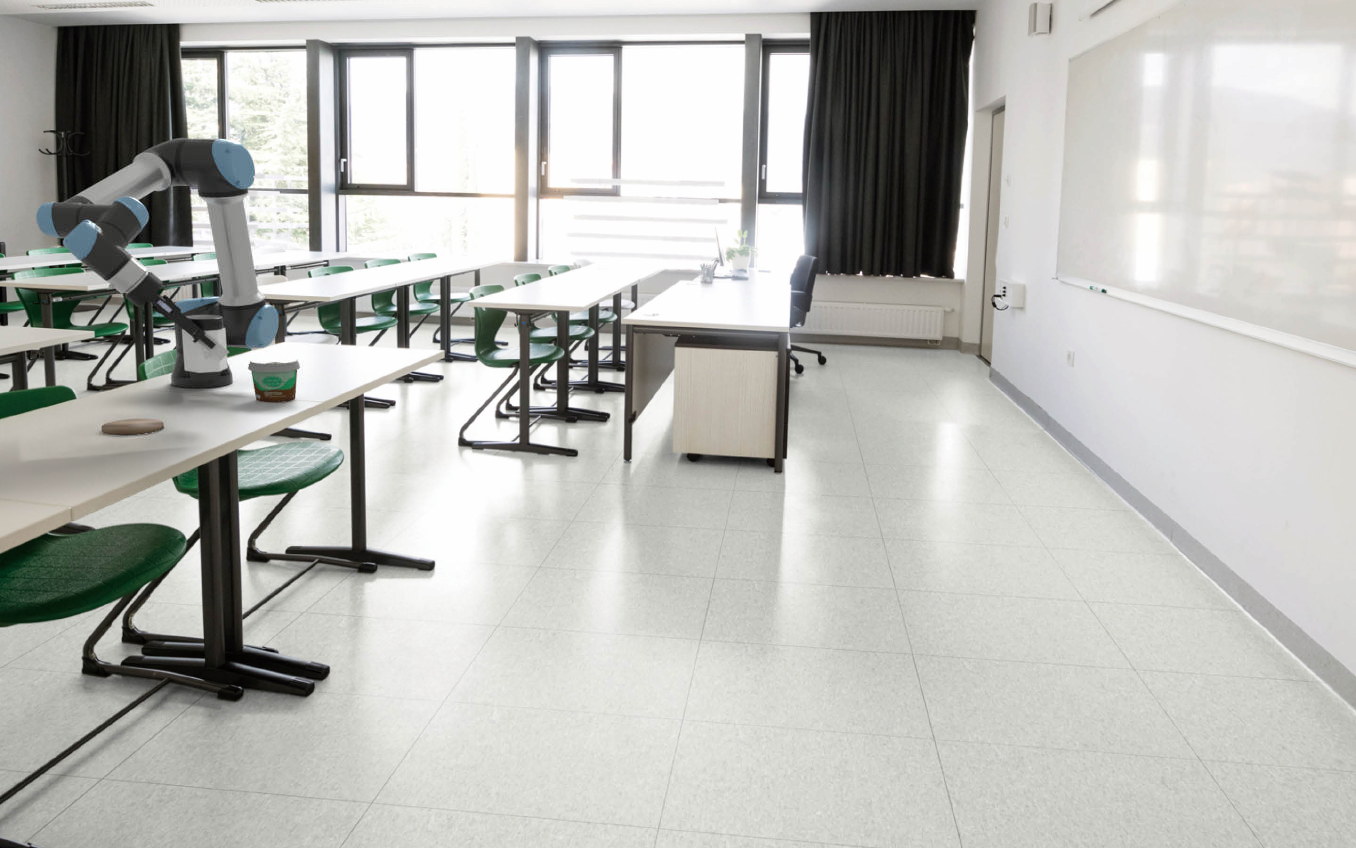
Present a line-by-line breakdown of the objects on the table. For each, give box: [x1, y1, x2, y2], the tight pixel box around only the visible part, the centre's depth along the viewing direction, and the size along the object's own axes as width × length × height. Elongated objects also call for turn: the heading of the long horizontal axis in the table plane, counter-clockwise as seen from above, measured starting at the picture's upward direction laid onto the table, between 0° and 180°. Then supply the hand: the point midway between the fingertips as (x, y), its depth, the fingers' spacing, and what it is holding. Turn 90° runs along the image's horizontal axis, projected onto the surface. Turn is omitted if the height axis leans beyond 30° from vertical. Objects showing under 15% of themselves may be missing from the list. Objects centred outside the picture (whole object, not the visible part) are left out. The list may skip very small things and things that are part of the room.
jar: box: [182, 315, 229, 373], centre depth 228 cm, size 9×8×12 cm
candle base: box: [101, 418, 165, 436], centre depth 222 cm, size 12×12×1 cm
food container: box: [247, 359, 301, 404], centre depth 255 cm, size 12×6×10 cm, turn 117°
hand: (221, 353), depth 230 cm, fingers closed on jar, 7 cm apart
